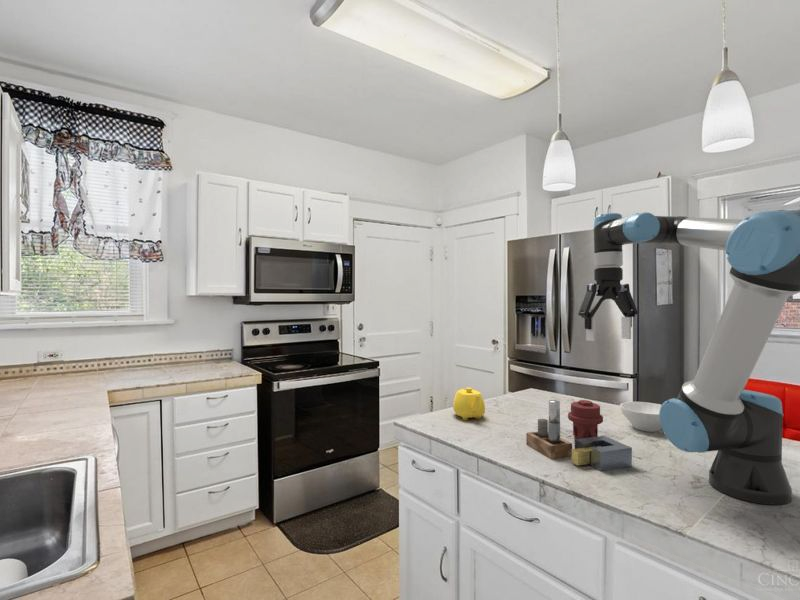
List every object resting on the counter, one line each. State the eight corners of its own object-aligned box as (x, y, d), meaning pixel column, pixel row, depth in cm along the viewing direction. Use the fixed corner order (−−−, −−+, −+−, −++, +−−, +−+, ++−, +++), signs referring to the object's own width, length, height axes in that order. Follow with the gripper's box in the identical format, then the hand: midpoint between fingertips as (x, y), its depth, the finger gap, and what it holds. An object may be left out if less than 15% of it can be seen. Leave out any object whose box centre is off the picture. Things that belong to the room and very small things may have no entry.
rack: (572, 455, 124) (572, 427, 124) (551, 458, 122) (551, 430, 122) (546, 441, 135) (546, 416, 135) (526, 444, 133) (526, 418, 133)
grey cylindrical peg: (562, 454, 125) (562, 402, 125) (552, 455, 124) (553, 403, 124) (555, 450, 128) (555, 399, 128) (546, 451, 127) (546, 400, 127)
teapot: (494, 423, 155) (494, 393, 154) (464, 425, 152) (464, 394, 152) (474, 409, 172) (474, 382, 172) (447, 411, 170) (447, 384, 169)
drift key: (599, 462, 118) (599, 449, 118) (577, 465, 116) (577, 452, 116) (593, 459, 120) (593, 446, 120) (571, 462, 118) (571, 449, 118)
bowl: (675, 439, 137) (675, 416, 137) (618, 431, 145) (618, 410, 145) (673, 425, 151) (673, 405, 151) (621, 418, 159) (621, 399, 159)
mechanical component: (598, 436, 140) (606, 447, 130) (565, 434, 142) (570, 445, 132) (598, 398, 139) (606, 406, 130) (565, 396, 141) (571, 404, 132)
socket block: (631, 466, 116) (631, 447, 116) (600, 471, 113) (600, 451, 113) (603, 453, 126) (604, 435, 126) (574, 457, 123) (574, 439, 123)
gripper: (629, 268, 137) (629, 336, 137) (565, 267, 128) (565, 340, 128) (650, 267, 130) (651, 338, 130) (584, 265, 121) (584, 342, 121)
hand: (608, 339), depth 129 cm, fingers open, 13 cm apart
